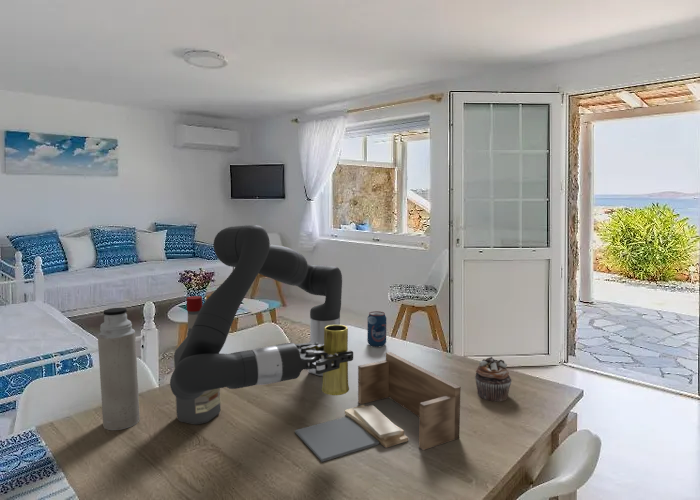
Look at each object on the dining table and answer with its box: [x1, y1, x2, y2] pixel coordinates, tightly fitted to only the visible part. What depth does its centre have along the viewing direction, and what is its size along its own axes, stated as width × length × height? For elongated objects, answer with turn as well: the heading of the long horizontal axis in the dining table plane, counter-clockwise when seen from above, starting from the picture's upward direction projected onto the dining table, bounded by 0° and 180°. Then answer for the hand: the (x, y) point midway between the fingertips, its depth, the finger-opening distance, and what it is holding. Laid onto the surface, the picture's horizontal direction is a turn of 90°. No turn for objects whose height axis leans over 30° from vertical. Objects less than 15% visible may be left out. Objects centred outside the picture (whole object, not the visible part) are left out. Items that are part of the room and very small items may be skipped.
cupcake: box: [474, 356, 513, 402], centre depth 129 cm, size 10×10×10 cm
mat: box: [294, 416, 380, 463], centre depth 106 cm, size 14×14×1 cm
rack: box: [344, 351, 462, 451], centre depth 113 cm, size 17×28×12 cm, turn 30°
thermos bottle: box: [97, 307, 141, 431], centre depth 112 cm, size 8×8×28 cm
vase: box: [321, 324, 350, 396], centre depth 104 cm, size 6×6×14 cm
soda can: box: [366, 310, 387, 348], centre depth 173 cm, size 7×7×12 cm
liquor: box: [173, 295, 221, 426], centre depth 116 cm, size 9×9×30 cm
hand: (345, 351), depth 105 cm, fingers closed on vase, 5 cm apart
